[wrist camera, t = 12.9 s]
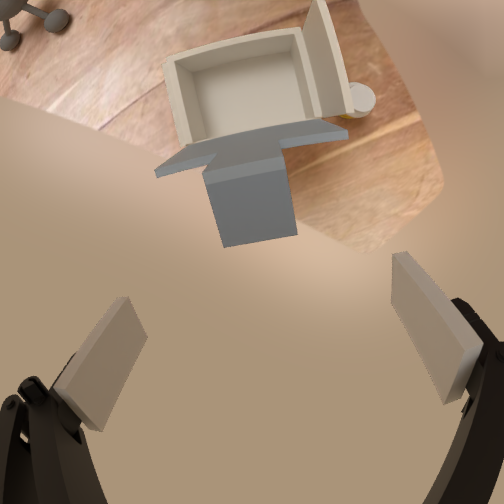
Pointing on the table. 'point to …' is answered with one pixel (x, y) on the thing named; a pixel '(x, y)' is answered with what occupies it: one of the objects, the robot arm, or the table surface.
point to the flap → (251, 177)
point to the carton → (258, 80)
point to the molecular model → (11, 3)
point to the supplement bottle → (360, 100)
